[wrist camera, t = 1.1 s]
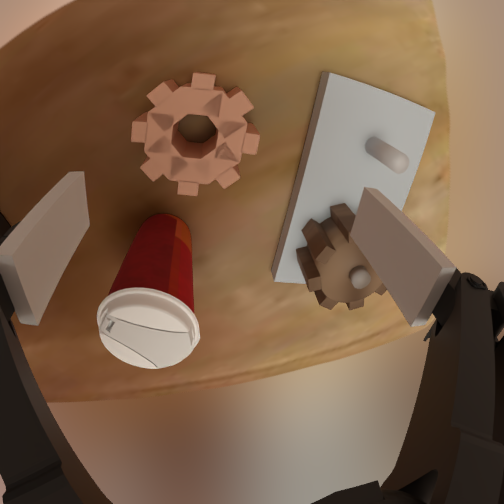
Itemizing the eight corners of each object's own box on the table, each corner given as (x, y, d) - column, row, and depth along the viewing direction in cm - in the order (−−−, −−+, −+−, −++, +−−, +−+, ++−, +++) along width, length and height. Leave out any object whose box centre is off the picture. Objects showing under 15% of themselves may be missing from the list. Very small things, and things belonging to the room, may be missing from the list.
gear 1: (141, 169, 28) (128, 189, 23) (151, 68, 22) (138, 69, 18) (241, 179, 29) (246, 201, 25) (261, 81, 24) (270, 84, 20)
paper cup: (118, 247, 32) (82, 348, 20) (149, 190, 29) (111, 282, 17) (180, 277, 35) (172, 383, 24) (216, 226, 32) (221, 330, 20)
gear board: (271, 270, 36) (282, 313, 30) (322, 71, 24) (353, 75, 18) (361, 277, 38) (383, 315, 33) (424, 108, 27) (467, 124, 21)
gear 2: (286, 276, 34) (299, 317, 29) (311, 197, 29) (332, 229, 24) (361, 282, 36) (381, 318, 31) (391, 211, 31) (421, 243, 26)
